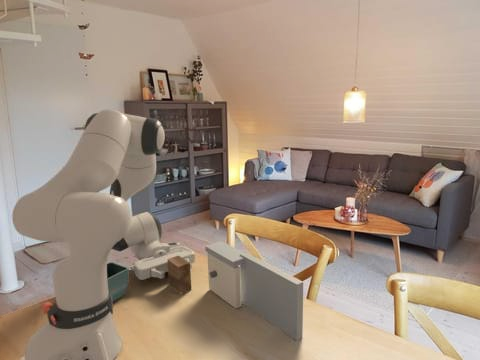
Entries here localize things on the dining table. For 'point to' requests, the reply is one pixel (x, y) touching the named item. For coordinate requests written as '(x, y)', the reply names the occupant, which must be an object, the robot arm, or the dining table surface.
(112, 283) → the flower pot
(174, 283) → the walnut block
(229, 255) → the wall
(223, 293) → the door panel
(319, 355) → the dining table surface
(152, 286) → the dining table surface
